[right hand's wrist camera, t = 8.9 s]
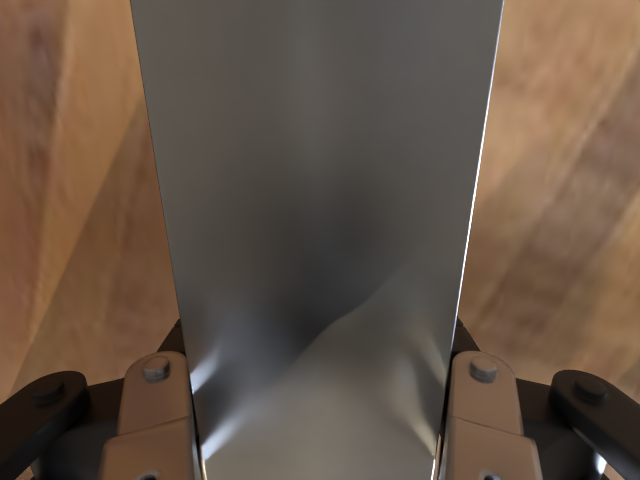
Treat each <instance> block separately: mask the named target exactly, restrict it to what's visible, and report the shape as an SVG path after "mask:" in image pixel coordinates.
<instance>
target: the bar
mask: <svg viewBox="0 0 640 480" xmlns="http://www.w3.org/2000/svg"><path fill="white" fill-rule="evenodd" d="M130 5H131V11H132V17H133V24H134V30H135V36H136V43H137V49H138V55H139V62H140V68H141V74H142V81H143V87H144V93H145V100H146V106H147V112H148V119H149V125H150V131H151V138H152V144H153V150H154V157H155V163H156V169H157V176H158V182H159V188H160V195H161V201H162V207H163V214H164V220H165V226H166V233H167V239H168V245H169V252H170V258H171V264H172V271H173V277H174V283H175V290H176V296H177V302H178V309H179V315H180V321H181V327H182V334H183V340H184V346H185V353H186V359H187V365H188V372H189V378H190V384H191V391H192V397H193V403H194V410H195V416H196V422H197V429H198V435H199V441H200V448H201V454H202V460H203V467H204V473H205V479H206V480H432V477H433V471H434V464H435V457H436V451H437V444H438V438H439V431H440V424H441V418H442V411H443V404H444V398H445V391H446V384H447V378H448V371H449V365H450V358H451V351H452V345H453V338H454V331H455V325H456V318H457V311H458V305H459V298H460V291H461V285H462V278H463V272H464V265H465V258H466V252H467V245H468V238H469V232H470V225H471V218H472V212H473V205H474V199H475V192H476V185H477V179H478V172H479V165H480V159H481V152H482V145H483V139H484V132H485V126H486V119H487V112H488V106H489V99H490V92H491V86H492V79H493V72H494V66H495V59H496V53H497V46H498V39H499V33H500V26H501V19H502V13H503V6H504V0H130Z"/></svg>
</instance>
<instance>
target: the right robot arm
mask: <svg viewBox="0 0 640 480" xmlns="http://www.w3.org/2000/svg"><path fill="white" fill-rule="evenodd" d="M439 434H440V436H441V440H440V447H439V456H438V466H437V476H436V480H609V479H608V478H607V477H606V476H605V475H604V474H603V471H604V469H605V466H606V463H608V464H609V465H610V466H611V467H613V468H614V469H615V470H616V471H617V472H618V473H619V474H620V475H621V476H622V477H623V478H624V479H625V480H640V405H639V404H638V403H637V402H635V401H634V400H633V399H631V398H630V397H628V396H627V395H626V394H624V393H623V392H622V391H620V390H619V389H618V388H616V387H615V386H614V385H612V384H611V383H609V382H607V381H606V380H604V379H602V378H600V377H598V376H595V375H592V374H590V373H586V372H582V371H578V370H562V371H559V372H557V373H556V374H555V375H554V376H553V379H552V383H551V386H549V385H544V384H540V383H535V382H531V381H526V380H522V379H518V378H515V374H514V372H513V370H512V369H511V368H510V366H509V365H508V364H506V363H505V362H504V361H502V360H501V359H499V358H497V357H495V356H493V355H491V354H488V353H484V352H481V351H480V350H479V348H478V347H477V345H476V343H475V342H474V340H473V339H472V337H471V336H470V334H469V333H468V331H467V330H466V328H465V327H463V324H462V322H461V321H460V319H458V316H457V318H456V325H455V331H454V338H453V345H452V351H451V358H450V365H449V371H448V378H447V384H446V391H445V398H444V404H443V411H442V418H441V424H440V431H439ZM29 466H31V469H32V472H33V474H34V477H33V478H32V479H31V480H204V476H203V466H202V456H201V448H200V441H199V435H198V429H197V422H196V416H195V410H194V403H193V397H192V391H191V384H190V378H189V372H188V365H187V359H186V353H185V346H184V340H183V334H182V327H181V321H180V319H178V321H177V322H176V324H175V325H174V327H173V328H172V330H171V331H170V333H169V334H168V336H167V337H166V339H165V340H164V342H163V343H162V345H161V346H160V348H159V349H158V351H157V352H156V353H152V354H149V355H147V356H145V357H143V358H141V359H139V360H138V361H136V362H135V363H134V364H133V365H131V366H130V368H129V369H128V370H127V372H126V374H125V377H124V378H121V379H118V380H114V381H109V382H105V383H100V384H96V385H91V386H88V385H87V382H86V378H85V376H84V375H83V374H82V373H80V372H76V371H62V372H57V373H53V374H49V375H46V376H44V377H41V378H39V379H37V380H35V381H33V382H31V383H30V384H28V385H27V386H25V387H24V388H22V389H21V390H20V391H18V392H17V393H16V394H14V395H13V396H12V397H10V398H9V399H7V400H6V401H5V402H3V403H2V404H1V405H0V480H15V479H16V478H17V477H18V476H19V475H20V474H21V473H22V472H23V471H24V470H25V469H26V468H27V467H29Z"/></svg>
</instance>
